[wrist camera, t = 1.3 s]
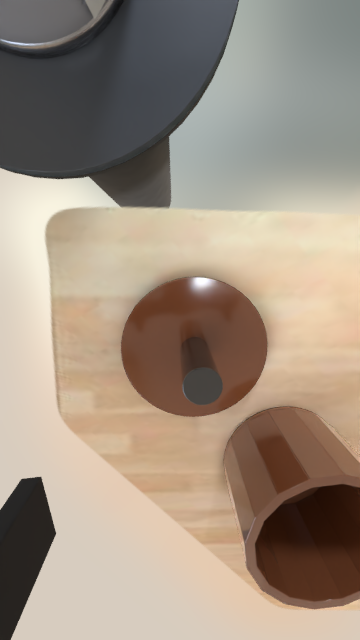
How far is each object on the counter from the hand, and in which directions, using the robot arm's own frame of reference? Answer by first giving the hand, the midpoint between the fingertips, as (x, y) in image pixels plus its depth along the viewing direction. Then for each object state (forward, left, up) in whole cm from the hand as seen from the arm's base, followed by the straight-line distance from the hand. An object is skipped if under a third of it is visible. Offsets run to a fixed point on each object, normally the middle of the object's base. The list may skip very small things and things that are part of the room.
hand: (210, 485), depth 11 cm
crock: (+14, +9, -17) cm, 24 cm away
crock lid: (0, +1, -16) cm, 16 cm away
